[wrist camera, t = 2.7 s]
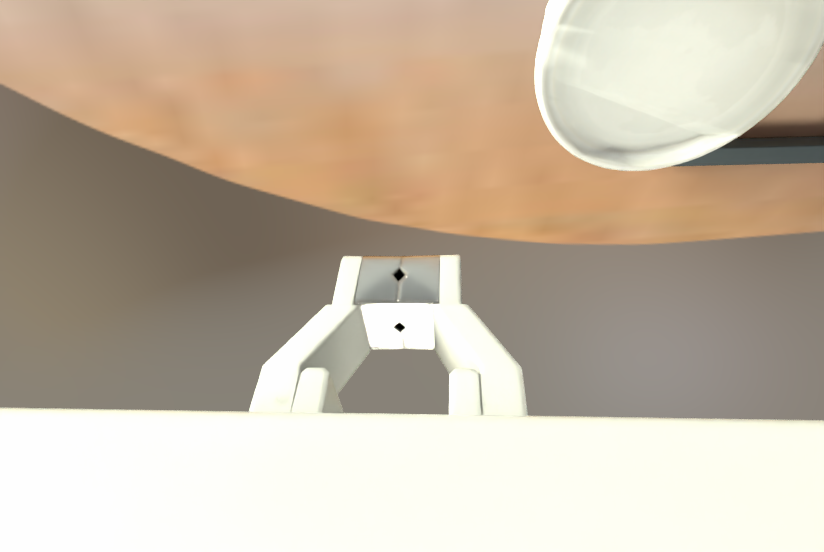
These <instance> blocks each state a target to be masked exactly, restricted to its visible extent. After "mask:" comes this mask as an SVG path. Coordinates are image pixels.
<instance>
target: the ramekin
mask: <svg viewBox="0 0 824 552" xmlns="http://www.w3.org/2000/svg"><path fill="white" fill-rule="evenodd" d="M823 43H824V0H549V2H548V4H547V7H546V10H545V18H544V21H543V26H542V34H541V37H540V41H539V45H538V50H537V55H536V63H535V90H536V96H537V101H538V105H539V108H540V111H541V114H542V117H543V119H544V121H545V123H546V125H547V127H548V129H549V131H550V132H551V134H552V135H553V136H554V138H555V139H556V140H557V141H558V142H559V143H560V144H561V145H562V146H563V147H564V148H565V149H566V150H567V151H569V152H570V153H571V154H573V155H574V156H576V157H578V158H580V159H581V160H583V161H586V162H588V163H590V164H593V165H596V166H599V167H603V168H607V169H614V170H620V171H646V170H654V169H660V168H665V167H670V166H674V165H678V164H681V163H684V162H688V161H690V160H693V159H696V158H699V157H701V156H704V155H706V154H708V153H710V152H712V151H714V150H716V149H718V148H720V147H722V146H724V145H726V144H727V143H729V142H731V141H732V140H734V139H736V138H737V137H739V136H740V135H742V134H743V133H745V132H746V131H748V130H749V129H750V128H752V127H753V126H754V125H756V124H757V123H758V122H759V121H760V120H762V119H763V118H764V117H765V116H767V115H768V114H769V113H770V112H771V111H772V110H774V109H775V107H776V106H777V105H778V104H779V103H780V102H781V101H783V100H784V98H785V97H786V96H787V95H788V94H789V93H790V92H791V91H792V90H793V88H794V87H795V86H796V85H797V84H798V82H799V81H800V80H801V78H802V77H803V76H804V74H805V73H806V71H807V70H808V69H809V67H810V66H811V64H812V62H813V61H814V59H815V58H816V56H817V54H818V53H819V51H820V49H821V47H822V45H823Z"/></svg>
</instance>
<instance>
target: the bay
mask: <svg viewBox="0 0 824 552" xmlns="http://www.w3.org/2000/svg"><path fill="white" fill-rule="evenodd" d="M791 163H824V136H816V137H780V138H744V139H734V140H732V141H731V142H729V143H727V144H726V145H724V146H722V147H720V148H718V149H716V150H714V151H712V152H710V153H708V154H706V155H704V156H701V157H699V158H696V159H693V160H690V161H688V162H684V163H681V164H678V165H674V166H706V165H748V164H791Z"/></svg>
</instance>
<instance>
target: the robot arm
mask: <svg viewBox="0 0 824 552" xmlns="http://www.w3.org/2000/svg"><path fill="white" fill-rule="evenodd" d="M402 348H403V349H405V348H406V349H435V352H436V353H437V355H438V356H439V358H440V360H441V361H442V363H443V364H444V366H445V367H446V369H447V371H448V372H449V374H450V378H449V381H450V382H449V415H438V414H437V415H436V414H435V415H434V414H371V413H369V414H368V413H344V412H343V409H342V406H341V403H340V400H339V398H338V393H339V392H340V391H341V389H342V388H343V387H344V385H345V384H346V383H347V381H348V380H349V379H350V377H351V376H352V375H353V373H354V372H355V371H356V370H357V368H358V367H359V366H360V364H361V363H362V362H363V360H364V359H365V358H366V356H367V355H368V354H369V352H370V349H402ZM0 552H824V420H765V419H763V420H762V419H761V420H760V419H700V418H696V419H695V418H636V417H634V418H633V417H571V416H570V417H569V416H565V417H564V416H528V415H527V407H526V399H525V391H524V383H523V375H522V368H521V367H520V366H519V364H518V363H517V362H516V361H515V360H514V359H513V357H512V356H511V355H510V354H509V353H508V351H507V350H506V349H505V348H504V347H503V345H502V344H501V343H500V342H499V341H498V340H497V338H496V337H495V336H494V335H493V334H492V332H491V331H490V330H489V329H488V328H487V327H486V325H485V324H484V323H483V322H482V321H481V320H480V318H479V317H478V316H477V315H476V314H475V312H474V311H473V310H472V309H471V308H470V306H469V305H467V304H465V305H464V304H462V288H461V257H460V255H440V256H439V255H434V256H433V255H432V256H344V257H343V259H342V260H341V265H340V270H339V274H338V279H337V284H336V288H335V293H334V298H333V303H332V305H326V306H325V307H324V308H323V309H322V310H321V311H320V312H318V313H317V314H316V315H315V316H314V317H313V318H312V319H311V320H310V321H309V322H308V323H307V324H306V325H305V326H304V327H303V328H302V329H301V330H300V331H299V332H298V333H297V334H295V335H294V336H293V337H292V338H291V339H290V340H289V341H288V342H287V343H286V344H285V345H284V346H283V347H282V348H281V349H280V350H279V351H278V352H277V353H276V354H275V355H274V356H272V357H271V358H270V359H269V360H268V361H267V362H266V363H265V364H264V365H263V368H262V370H261V374H260V377H259V380H258V384H257V387H256V390H255V393H254V396H253V400H252V403H251V406H250V409H249V412H240V411H179V410H178V411H177V410H173V411H172V410H114V409H53V408H52V409H51V408H0Z"/></svg>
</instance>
